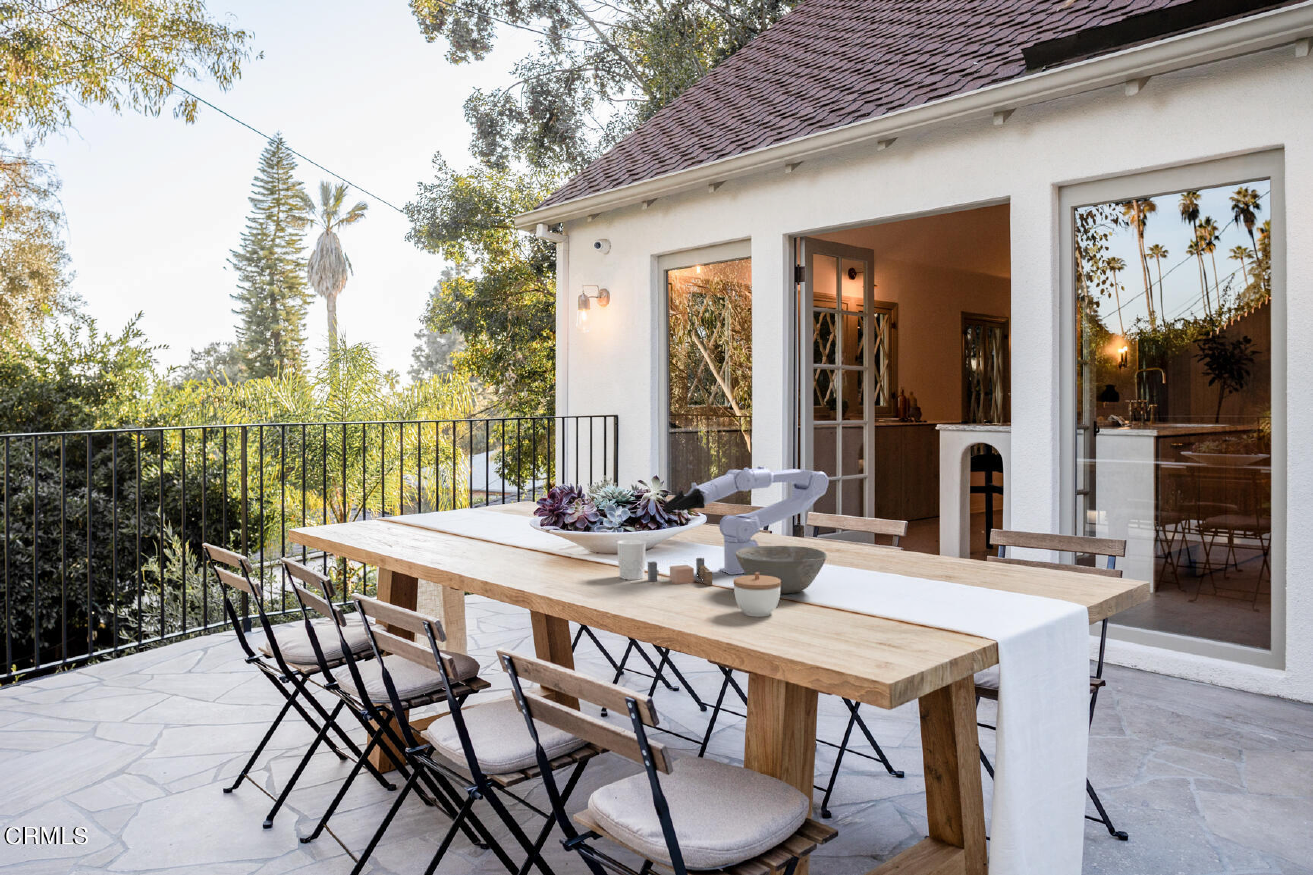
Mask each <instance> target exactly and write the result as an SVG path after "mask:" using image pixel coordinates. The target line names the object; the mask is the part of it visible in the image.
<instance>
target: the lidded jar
mask: <svg viewBox="0 0 1313 875" xmlns="http://www.w3.org/2000/svg"><path fill="white" fill-rule="evenodd" d="M780 585H781V580H780V579H779V578H776V577H772V576H764V575H759V573H758V572H756V573H755V575H749V576H747V575H741V576H738V577H735V578H734V579H733V588H734V591H733V592H734V597H735V602H736V605H737V607H738V608H739V609H740V610H741V611H742V612H743V614H744V616H749V617H753V618H755V617H756V618H759V617H761V618H762V617H768V616H771V615H772V612H774V610H776V608H777V606H778V604H779V602H780V597H781V594H780Z"/></svg>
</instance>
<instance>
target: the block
mask: <svg viewBox="0 0 1313 875" xmlns="http://www.w3.org/2000/svg"><path fill="white" fill-rule="evenodd" d="M694 571H695V570H694V567H692V566H690V565H688V564H683V565H681V564H680V565H670V566H669V581H670V582H672V583H674V584H675V585H681V584H693V583H695V580H694V579H695V575H694V574H695V572H694Z"/></svg>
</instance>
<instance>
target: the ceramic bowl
mask: <svg viewBox="0 0 1313 875" xmlns="http://www.w3.org/2000/svg"><path fill="white" fill-rule="evenodd" d="M735 555H736V557H737V559H738V561H739V563H740V565H741V567H742V569H743V570H744V572H745V573H744V574H745V576H749V575H755V573H756V572H758V573H759V575H764V576H772V577H776V578H779V579H780V580H781V585H780V595H782V594H795V593H801V592H803V591H805V590H806V589H808V587H810V586H811V584H812V583H813V582H814V581H815V579H816V577H817V576H818V574H819V572H820V571H821V570H822V568H823V566H824V564H825V561H826V559H827V553H826V552H825V551H822V550H820V549H818V548H814V547H808V546H800V545H799V546H795V545H794V546H792V545H791V546H790V545H758V546H756V547H750V548H743V549H739V550H737V551H736V552H735Z"/></svg>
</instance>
